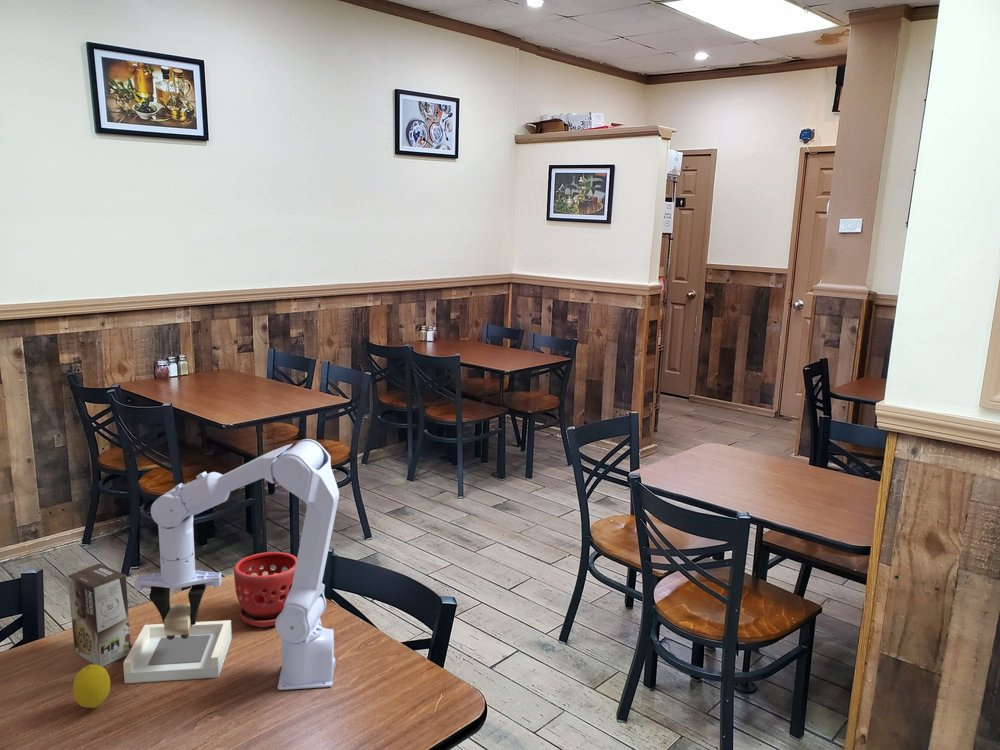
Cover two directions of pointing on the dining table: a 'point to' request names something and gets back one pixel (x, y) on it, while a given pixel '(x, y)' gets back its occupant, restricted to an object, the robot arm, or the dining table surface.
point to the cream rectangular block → (178, 621)
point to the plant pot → (263, 586)
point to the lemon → (91, 686)
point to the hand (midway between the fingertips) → (180, 622)
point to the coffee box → (99, 614)
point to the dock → (178, 653)
